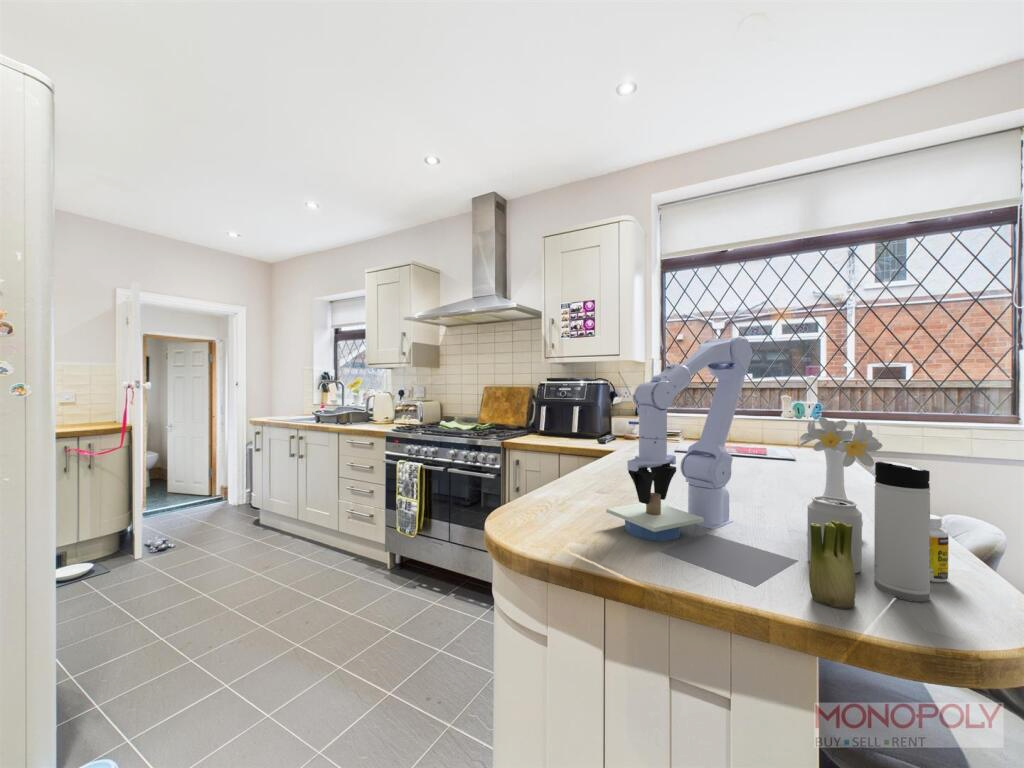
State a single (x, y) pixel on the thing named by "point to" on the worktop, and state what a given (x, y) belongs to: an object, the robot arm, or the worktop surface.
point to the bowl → (650, 535)
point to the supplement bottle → (938, 550)
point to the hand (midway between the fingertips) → (652, 500)
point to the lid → (654, 515)
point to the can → (839, 511)
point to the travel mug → (902, 531)
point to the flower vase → (841, 450)
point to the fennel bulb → (832, 565)
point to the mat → (730, 558)
